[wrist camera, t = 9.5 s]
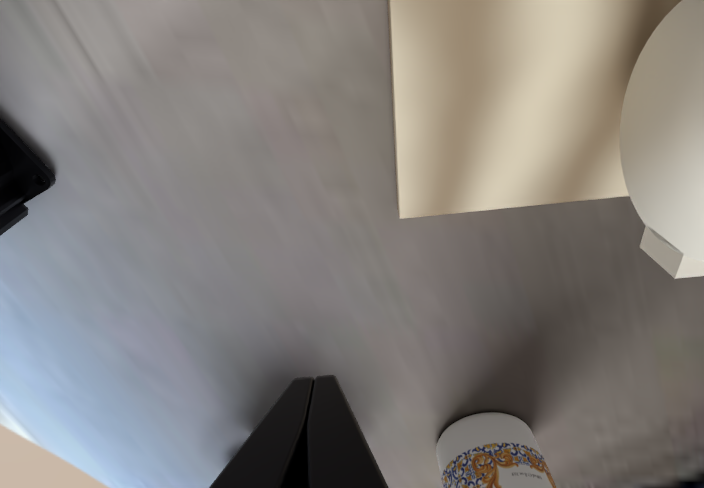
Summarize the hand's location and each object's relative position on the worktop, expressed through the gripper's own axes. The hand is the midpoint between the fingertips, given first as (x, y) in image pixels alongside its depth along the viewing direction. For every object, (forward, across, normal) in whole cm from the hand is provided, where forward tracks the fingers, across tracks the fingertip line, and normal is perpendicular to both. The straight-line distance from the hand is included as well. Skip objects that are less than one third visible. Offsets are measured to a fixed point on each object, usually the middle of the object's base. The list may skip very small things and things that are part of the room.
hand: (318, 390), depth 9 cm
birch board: (+13, +12, +2) cm, 17 cm away
